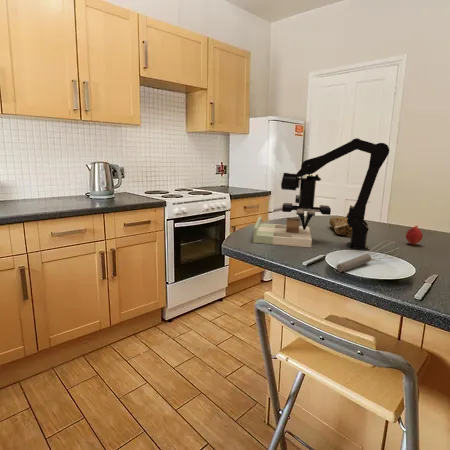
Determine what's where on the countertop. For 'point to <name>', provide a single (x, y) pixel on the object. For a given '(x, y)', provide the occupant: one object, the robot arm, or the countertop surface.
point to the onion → (414, 235)
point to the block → (292, 225)
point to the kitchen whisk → (360, 260)
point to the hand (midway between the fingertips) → (304, 229)
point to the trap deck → (280, 235)
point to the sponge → (341, 226)
